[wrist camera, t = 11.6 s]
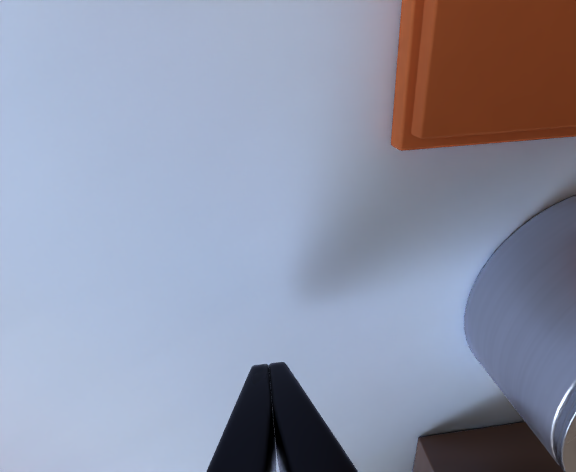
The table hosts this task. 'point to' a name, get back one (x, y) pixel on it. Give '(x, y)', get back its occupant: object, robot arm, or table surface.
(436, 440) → the walnut block
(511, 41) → the terracotta tray
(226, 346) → the table surface
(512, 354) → the silver pot
